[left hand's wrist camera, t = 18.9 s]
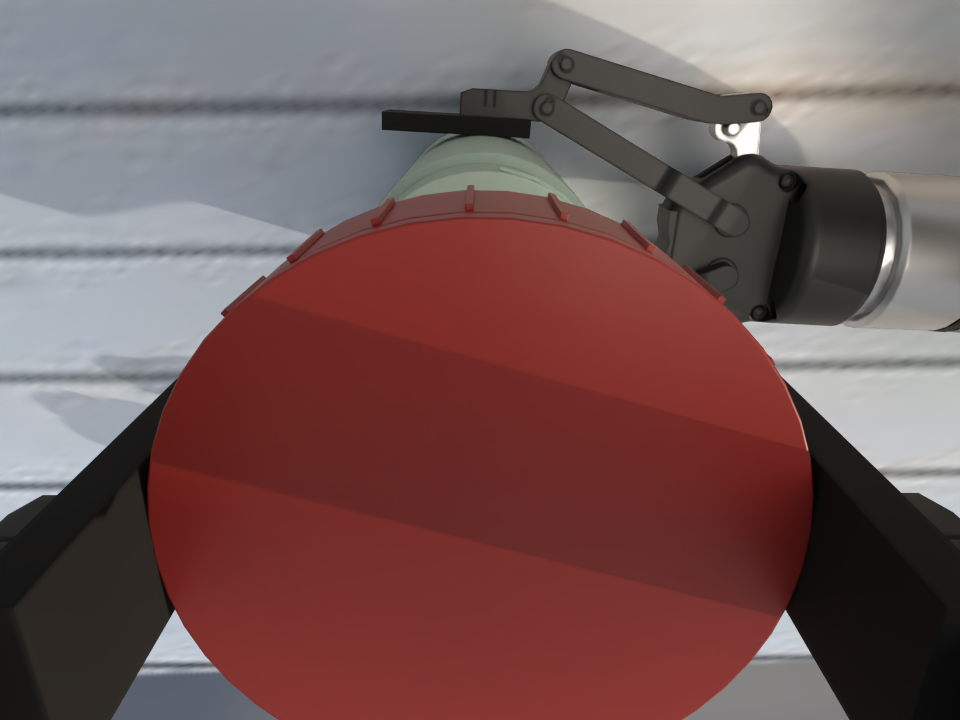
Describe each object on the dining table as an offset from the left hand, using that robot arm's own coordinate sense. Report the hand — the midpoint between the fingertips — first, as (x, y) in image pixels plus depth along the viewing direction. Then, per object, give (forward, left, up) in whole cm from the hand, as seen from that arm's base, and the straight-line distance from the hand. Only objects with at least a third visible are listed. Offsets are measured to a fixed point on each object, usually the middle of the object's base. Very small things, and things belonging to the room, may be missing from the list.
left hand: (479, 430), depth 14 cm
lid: (0, 0, +3) cm, 3 cm away
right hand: (+1, -4, -21) cm, 21 cm away
